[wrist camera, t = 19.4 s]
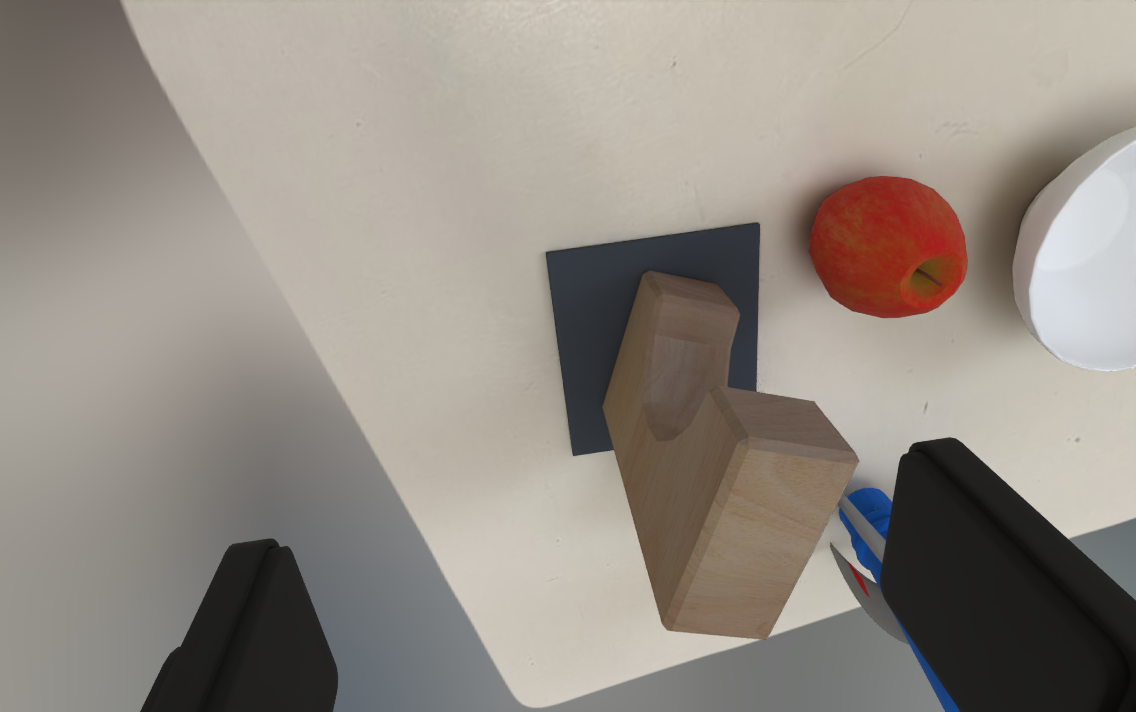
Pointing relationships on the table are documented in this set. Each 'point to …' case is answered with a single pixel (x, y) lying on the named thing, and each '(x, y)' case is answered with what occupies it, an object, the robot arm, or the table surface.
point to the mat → (606, 296)
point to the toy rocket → (876, 569)
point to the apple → (888, 247)
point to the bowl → (1083, 260)
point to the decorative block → (715, 465)
